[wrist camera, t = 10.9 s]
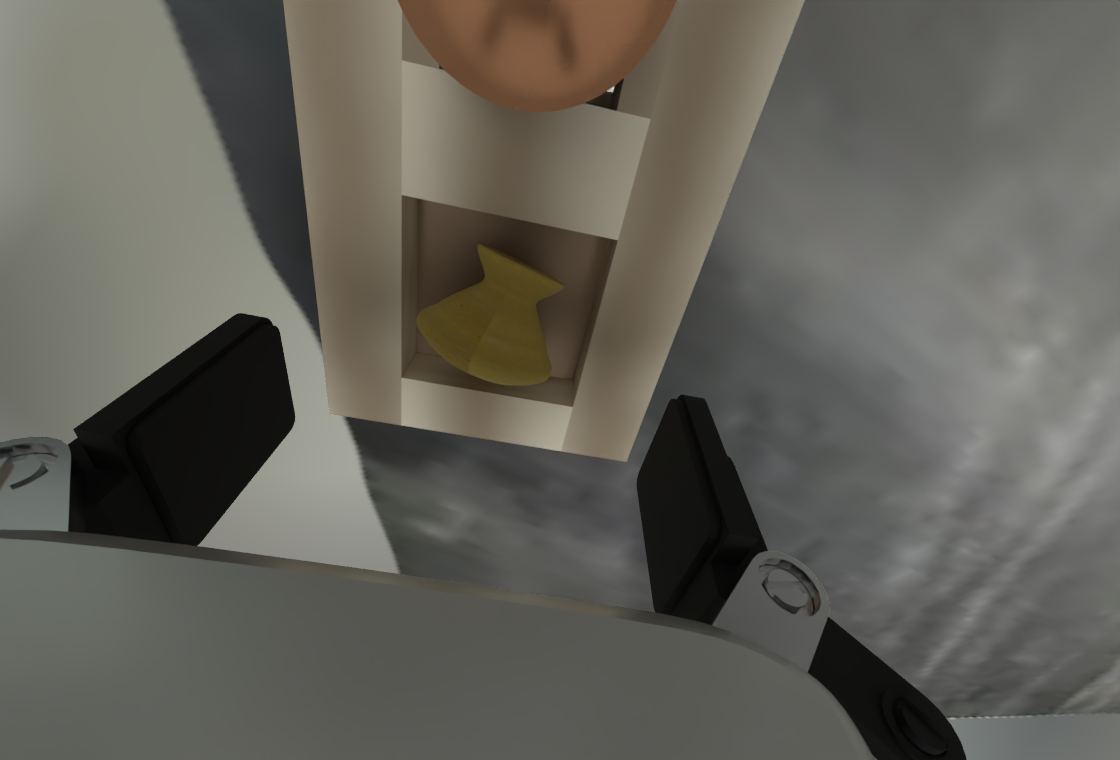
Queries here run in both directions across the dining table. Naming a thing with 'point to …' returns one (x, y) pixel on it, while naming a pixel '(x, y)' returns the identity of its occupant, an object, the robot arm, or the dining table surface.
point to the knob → (494, 322)
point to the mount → (517, 212)
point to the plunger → (537, 46)
